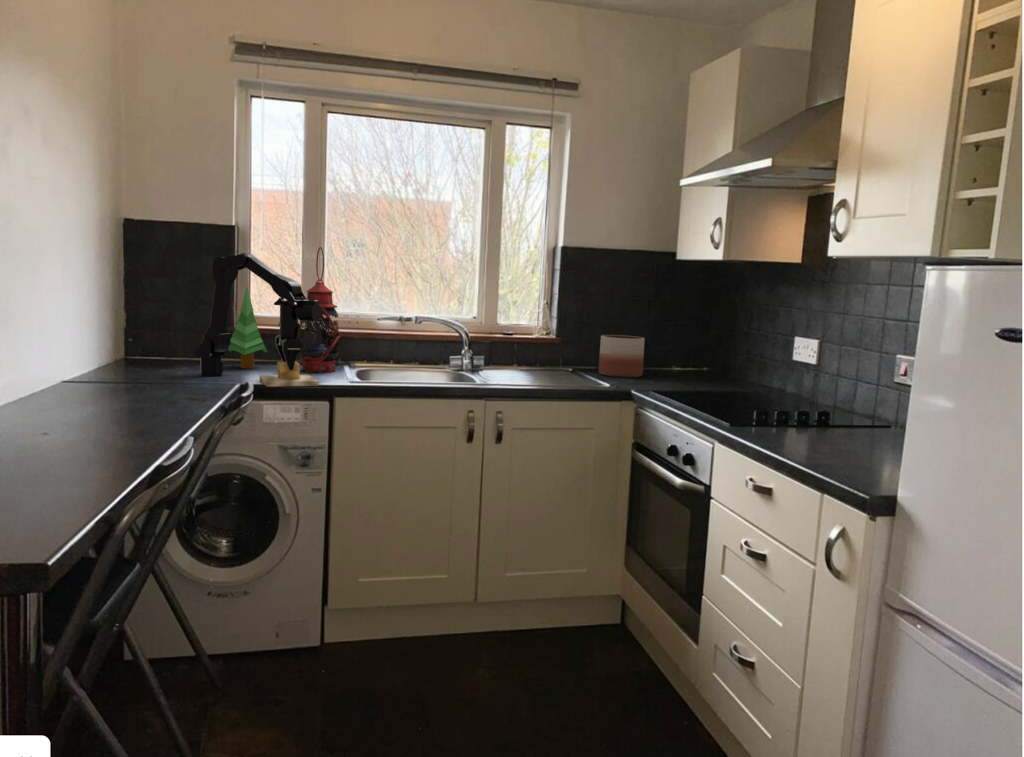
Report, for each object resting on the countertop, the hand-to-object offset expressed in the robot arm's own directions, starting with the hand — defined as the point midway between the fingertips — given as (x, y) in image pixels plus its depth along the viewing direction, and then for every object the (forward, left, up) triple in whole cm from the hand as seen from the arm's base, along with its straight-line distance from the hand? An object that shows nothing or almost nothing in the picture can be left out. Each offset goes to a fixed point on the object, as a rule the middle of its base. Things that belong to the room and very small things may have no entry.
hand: (288, 368), depth 249 cm
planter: (+132, +6, -5) cm, 132 cm away
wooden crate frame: (0, 0, -3) cm, 3 cm away
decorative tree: (-8, +41, -5) cm, 42 cm away
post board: (0, 0, -5) cm, 5 cm away
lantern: (+16, +30, -5) cm, 34 cm away
